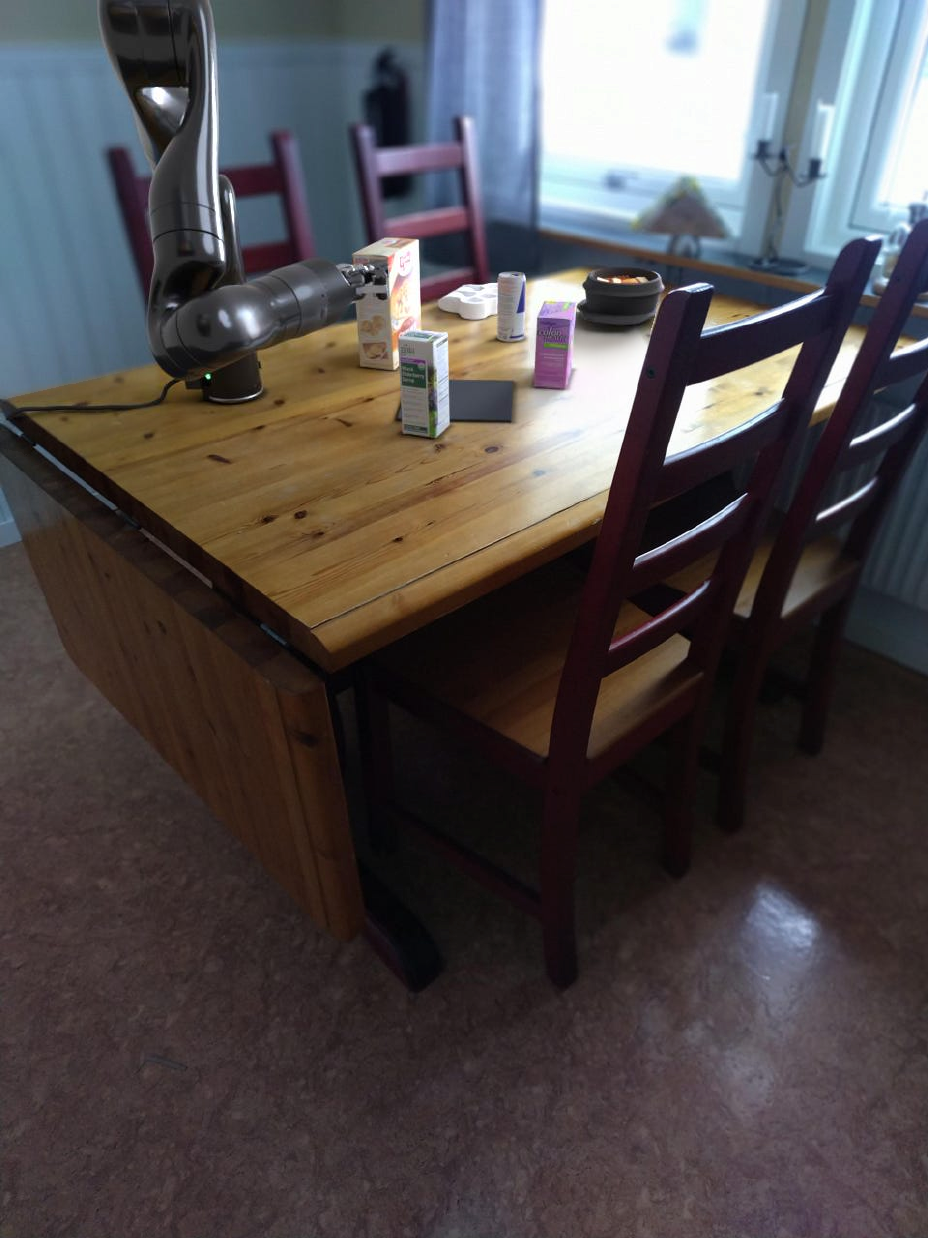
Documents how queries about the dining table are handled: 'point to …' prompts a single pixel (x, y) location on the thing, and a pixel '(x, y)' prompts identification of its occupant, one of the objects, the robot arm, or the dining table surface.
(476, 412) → the mat
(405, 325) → the coffeecake box
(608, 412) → the dining table surface
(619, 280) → the casserole
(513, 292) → the energy drink
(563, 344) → the box
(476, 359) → the dining table surface
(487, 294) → the white cupped tray
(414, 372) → the syrup box
